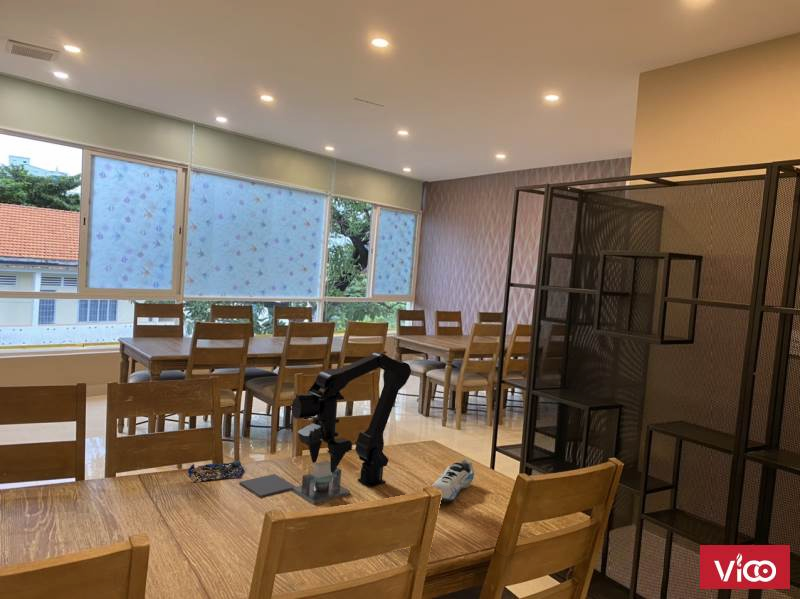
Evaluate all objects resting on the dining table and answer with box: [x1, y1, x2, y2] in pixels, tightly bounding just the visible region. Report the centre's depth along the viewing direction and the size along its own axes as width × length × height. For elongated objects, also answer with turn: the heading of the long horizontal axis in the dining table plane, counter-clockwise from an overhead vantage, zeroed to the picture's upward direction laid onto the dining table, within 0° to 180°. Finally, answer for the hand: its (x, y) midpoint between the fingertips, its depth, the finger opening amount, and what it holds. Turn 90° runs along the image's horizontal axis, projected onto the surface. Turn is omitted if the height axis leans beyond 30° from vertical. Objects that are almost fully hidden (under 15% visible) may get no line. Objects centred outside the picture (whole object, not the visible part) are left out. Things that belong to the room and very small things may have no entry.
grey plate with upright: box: [291, 467, 351, 505], centre depth 166 cm, size 13×11×6 cm
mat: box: [239, 473, 297, 498], centre depth 168 cm, size 12×12×1 cm
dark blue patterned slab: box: [187, 460, 245, 483], centre depth 175 cm, size 16×12×2 cm
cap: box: [310, 460, 337, 483], centre depth 166 cm, size 10×6×5 cm, turn 134°
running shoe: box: [431, 458, 475, 503], centre depth 173 cm, size 9×25×9 cm, turn 152°
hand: (323, 467), depth 166 cm, fingers open, 9 cm apart
